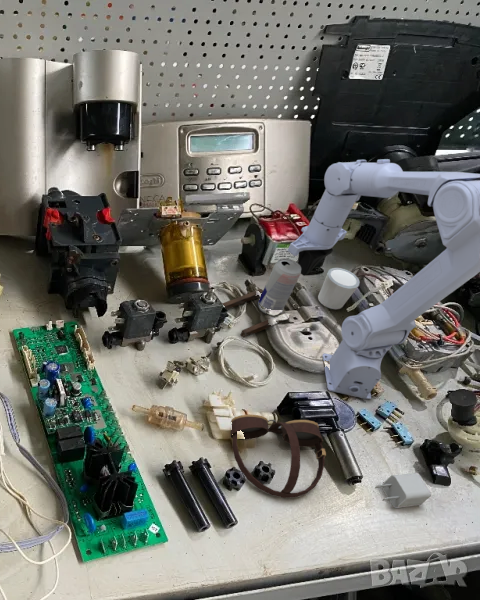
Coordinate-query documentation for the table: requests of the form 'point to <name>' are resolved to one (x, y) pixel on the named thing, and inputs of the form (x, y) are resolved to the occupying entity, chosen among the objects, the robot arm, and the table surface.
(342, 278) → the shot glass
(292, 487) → the goggles
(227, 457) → the table surface
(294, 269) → the energy drink
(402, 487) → the usb wall charger
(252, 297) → the cradle
